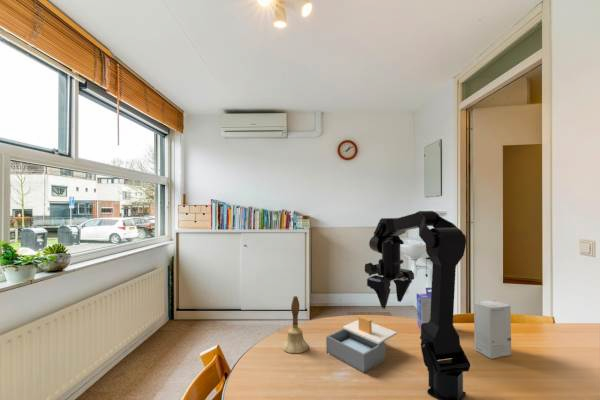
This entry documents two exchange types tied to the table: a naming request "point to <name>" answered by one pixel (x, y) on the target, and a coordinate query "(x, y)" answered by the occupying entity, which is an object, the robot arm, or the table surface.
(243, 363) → the table surface
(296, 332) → the hand bell
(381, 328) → the flap
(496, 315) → the skincare box
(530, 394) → the table surface
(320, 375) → the table surface
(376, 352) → the carton
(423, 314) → the ink cartridge box
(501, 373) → the table surface
